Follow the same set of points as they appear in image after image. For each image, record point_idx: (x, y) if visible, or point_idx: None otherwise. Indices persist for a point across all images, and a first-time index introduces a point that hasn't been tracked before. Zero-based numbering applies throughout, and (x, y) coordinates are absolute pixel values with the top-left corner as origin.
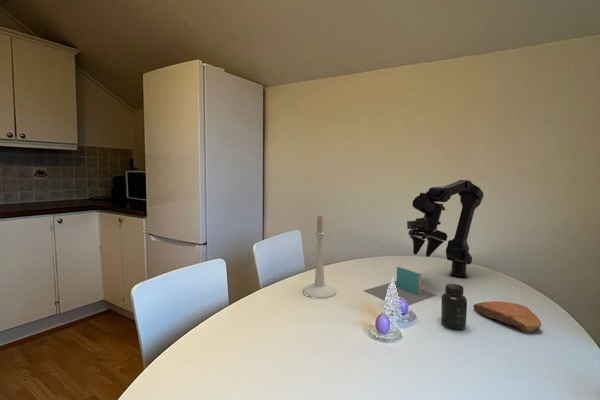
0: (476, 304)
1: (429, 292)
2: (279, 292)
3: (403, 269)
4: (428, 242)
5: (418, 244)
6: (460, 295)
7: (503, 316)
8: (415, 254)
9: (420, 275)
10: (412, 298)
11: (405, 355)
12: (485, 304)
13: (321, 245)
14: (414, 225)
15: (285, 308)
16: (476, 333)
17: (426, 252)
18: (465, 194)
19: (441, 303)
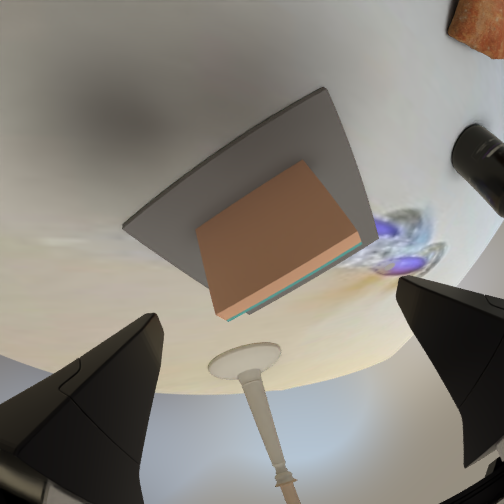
0: (479, 51)
1: (291, 112)
2: None
3: (267, 296)
4: (470, 405)
5: (118, 418)
6: None
7: None
8: (157, 319)
9: (351, 225)
10: (335, 199)
11: (465, 242)
12: (502, 46)
13: (283, 457)
14: None
15: (305, 363)
16: (496, 122)
17: (416, 323)
18: None
19: (487, 202)
